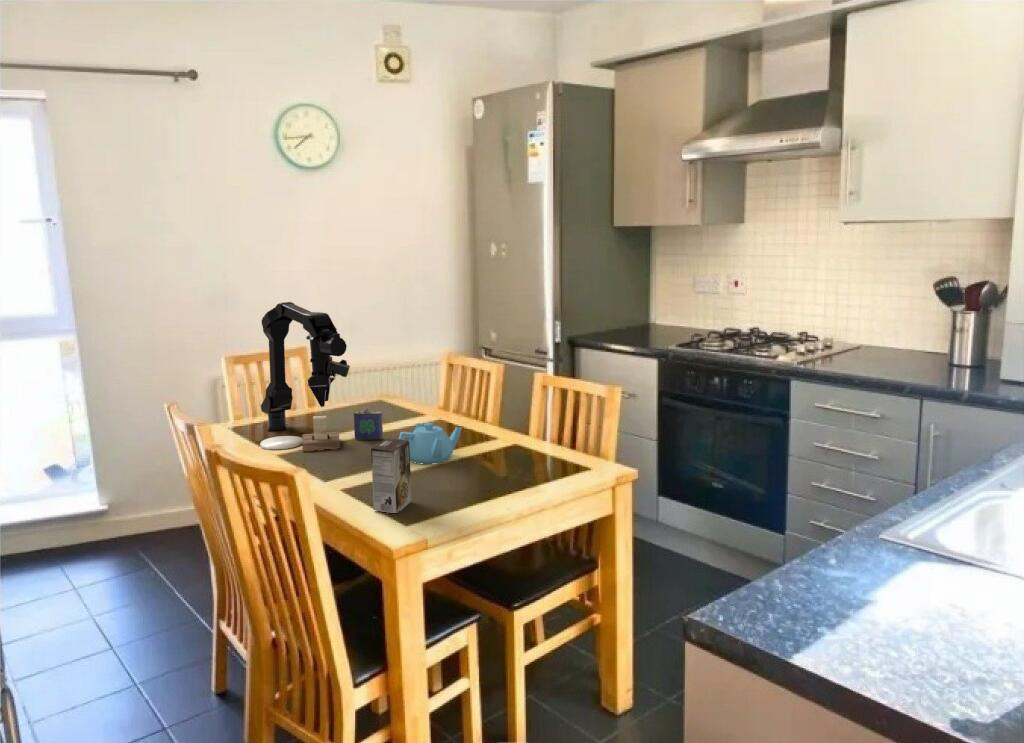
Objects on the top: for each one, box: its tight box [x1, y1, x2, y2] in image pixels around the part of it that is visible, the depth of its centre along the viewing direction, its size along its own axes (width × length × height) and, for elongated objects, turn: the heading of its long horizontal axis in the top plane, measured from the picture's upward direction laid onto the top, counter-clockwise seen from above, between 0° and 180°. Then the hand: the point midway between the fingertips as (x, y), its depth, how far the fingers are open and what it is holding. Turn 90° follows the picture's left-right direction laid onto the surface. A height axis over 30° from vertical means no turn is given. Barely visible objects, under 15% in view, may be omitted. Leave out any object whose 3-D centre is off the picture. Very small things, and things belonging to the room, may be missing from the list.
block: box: [312, 415, 328, 440], centre depth 241 cm, size 4×4×9 cm
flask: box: [353, 406, 384, 441], centre depth 248 cm, size 9×3×11 cm, turn 88°
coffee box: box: [370, 437, 413, 513], centre depth 188 cm, size 9×6×16 cm
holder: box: [301, 431, 341, 452], centre depth 242 cm, size 11×11×2 cm
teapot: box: [398, 422, 463, 465], centre depth 227 cm, size 15×15×11 cm
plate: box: [259, 435, 302, 451], centre depth 244 cm, size 13×13×1 cm
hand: (324, 403), depth 240 cm, fingers open, 9 cm apart
